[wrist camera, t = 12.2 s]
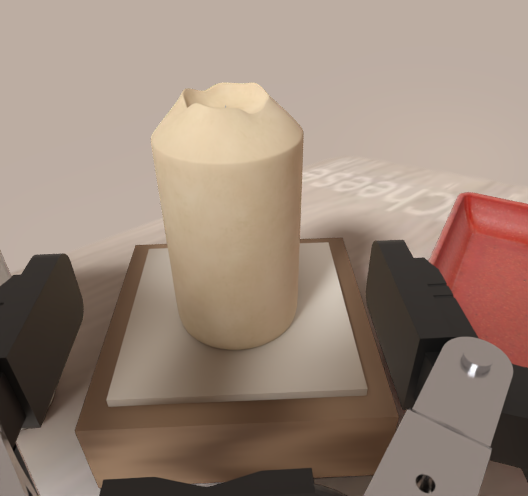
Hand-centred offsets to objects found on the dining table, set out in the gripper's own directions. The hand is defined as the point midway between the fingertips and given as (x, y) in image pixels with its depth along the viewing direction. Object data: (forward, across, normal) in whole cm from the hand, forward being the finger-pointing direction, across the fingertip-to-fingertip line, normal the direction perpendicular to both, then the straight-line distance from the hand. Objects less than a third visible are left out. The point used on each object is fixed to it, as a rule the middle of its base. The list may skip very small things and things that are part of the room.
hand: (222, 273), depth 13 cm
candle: (+6, 0, +7) cm, 10 cm away
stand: (+7, 0, +12) cm, 13 cm away
